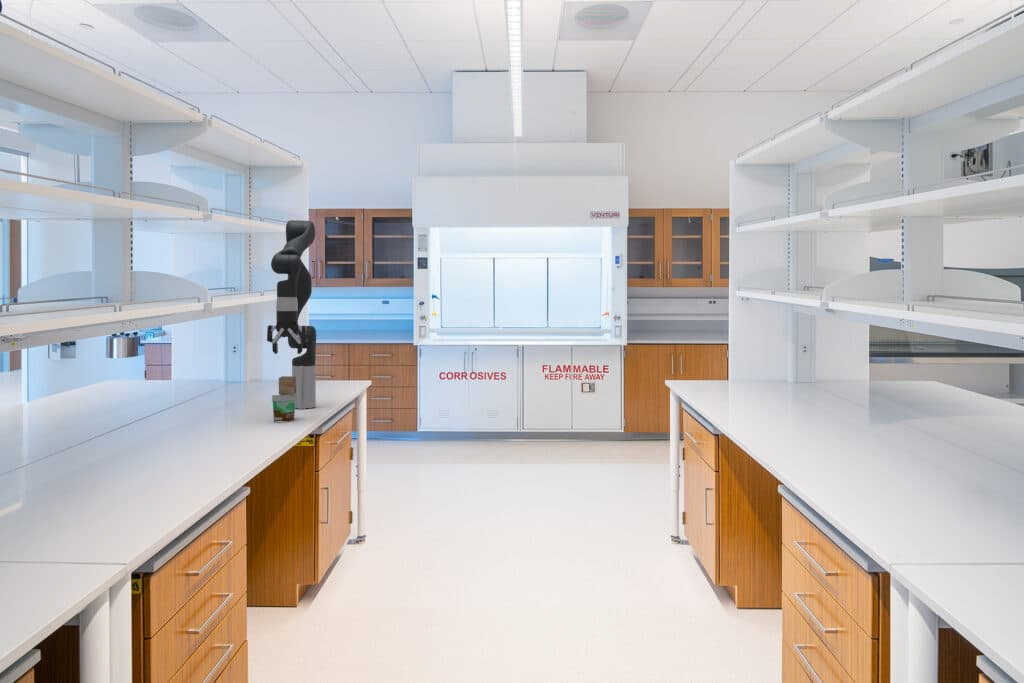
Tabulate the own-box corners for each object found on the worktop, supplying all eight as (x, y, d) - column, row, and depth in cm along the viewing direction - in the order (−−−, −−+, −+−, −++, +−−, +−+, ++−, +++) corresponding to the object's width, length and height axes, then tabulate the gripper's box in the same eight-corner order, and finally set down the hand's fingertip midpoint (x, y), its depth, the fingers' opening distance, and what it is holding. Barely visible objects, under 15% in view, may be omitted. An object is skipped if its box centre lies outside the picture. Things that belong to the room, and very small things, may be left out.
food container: (287, 423, 284) (287, 395, 283) (271, 422, 285) (271, 395, 284) (303, 417, 296) (303, 391, 295) (288, 417, 297) (287, 390, 296)
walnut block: (282, 392, 292) (282, 376, 292) (296, 392, 292) (296, 376, 292) (278, 394, 287) (278, 377, 287) (292, 394, 287) (292, 378, 287)
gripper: (309, 309, 291) (309, 353, 293) (270, 308, 291) (271, 352, 292) (303, 310, 284) (304, 355, 285) (264, 309, 284) (264, 354, 285)
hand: (287, 353), depth 289 cm, fingers open, 8 cm apart
